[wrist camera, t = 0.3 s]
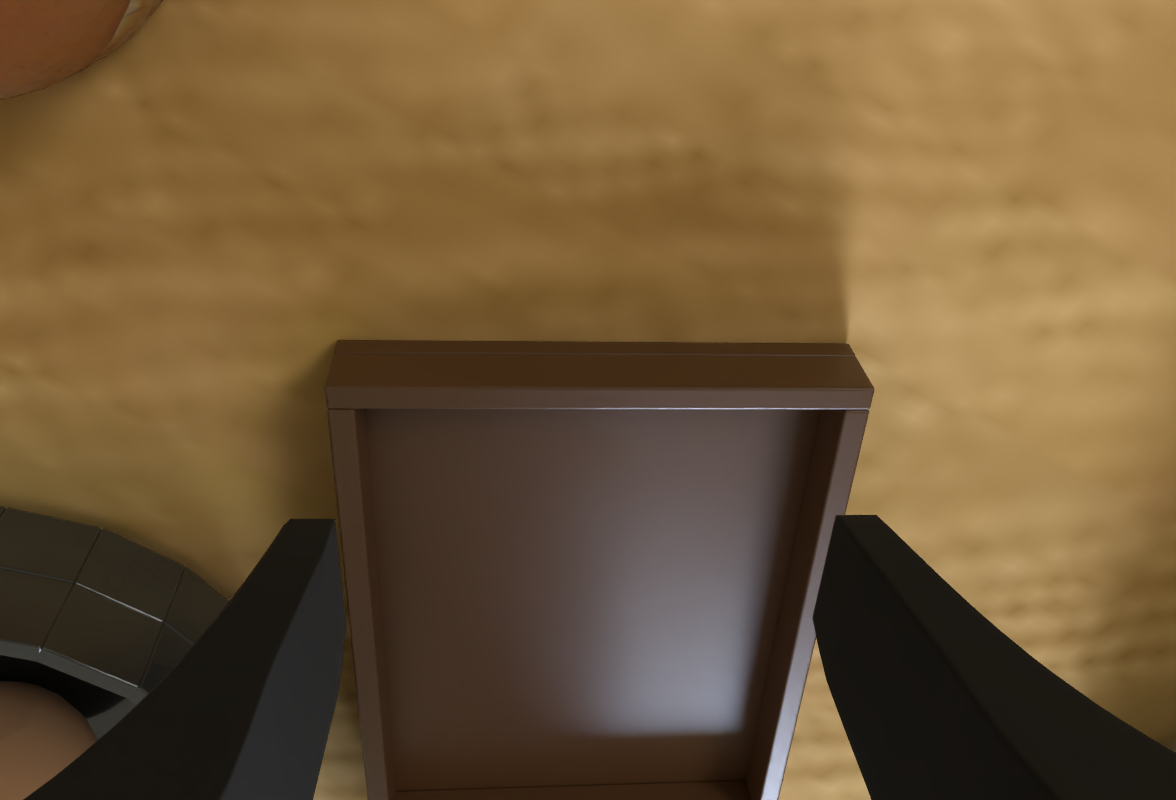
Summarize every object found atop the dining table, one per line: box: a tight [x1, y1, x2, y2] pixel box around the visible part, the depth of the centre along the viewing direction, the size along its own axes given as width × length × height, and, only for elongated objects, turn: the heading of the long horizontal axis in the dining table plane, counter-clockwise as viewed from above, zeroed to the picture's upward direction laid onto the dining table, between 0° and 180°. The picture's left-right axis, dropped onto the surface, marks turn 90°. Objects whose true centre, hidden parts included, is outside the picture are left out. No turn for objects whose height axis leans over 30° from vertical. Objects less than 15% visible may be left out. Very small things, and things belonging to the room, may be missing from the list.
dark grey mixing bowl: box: [0, 507, 229, 740], centre depth 27 cm, size 14×14×4 cm
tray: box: [325, 340, 874, 800], centre depth 28 cm, size 16×12×2 cm
